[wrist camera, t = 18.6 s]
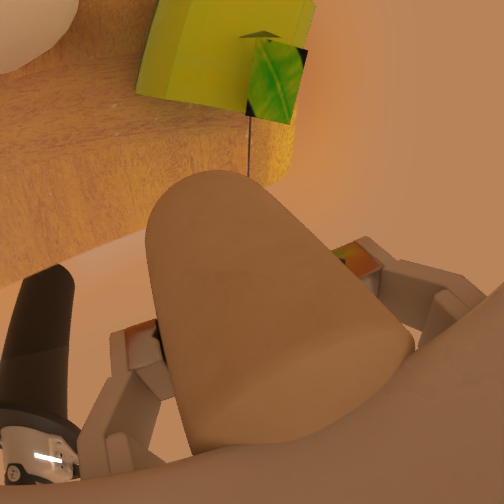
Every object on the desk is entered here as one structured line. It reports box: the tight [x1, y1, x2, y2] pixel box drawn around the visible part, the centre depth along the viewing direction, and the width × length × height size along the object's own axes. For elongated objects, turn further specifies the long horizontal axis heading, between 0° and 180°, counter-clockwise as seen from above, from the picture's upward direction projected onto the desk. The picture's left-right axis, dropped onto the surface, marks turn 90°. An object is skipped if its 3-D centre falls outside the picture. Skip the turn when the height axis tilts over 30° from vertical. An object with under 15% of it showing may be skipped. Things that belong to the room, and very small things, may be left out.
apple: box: [135, 0, 316, 125], centre depth 19 cm, size 11×10×15 cm
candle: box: [145, 170, 415, 456], centre depth 9 cm, size 6×6×10 cm
